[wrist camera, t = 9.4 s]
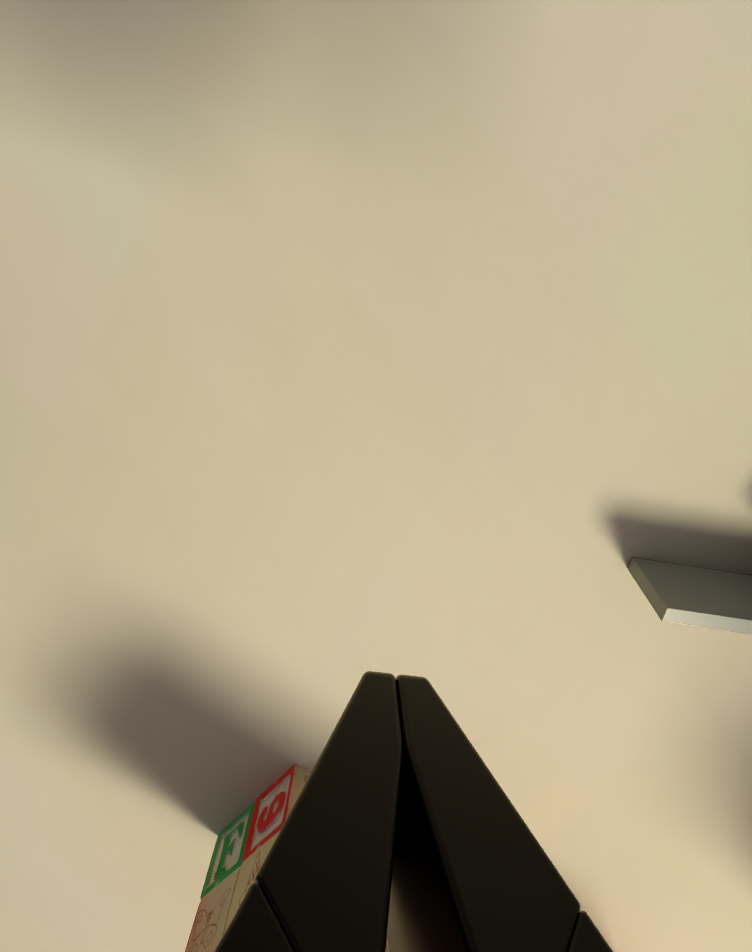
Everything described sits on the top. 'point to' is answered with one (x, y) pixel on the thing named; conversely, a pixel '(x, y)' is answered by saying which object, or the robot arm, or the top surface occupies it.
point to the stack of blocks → (242, 859)
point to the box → (696, 595)
